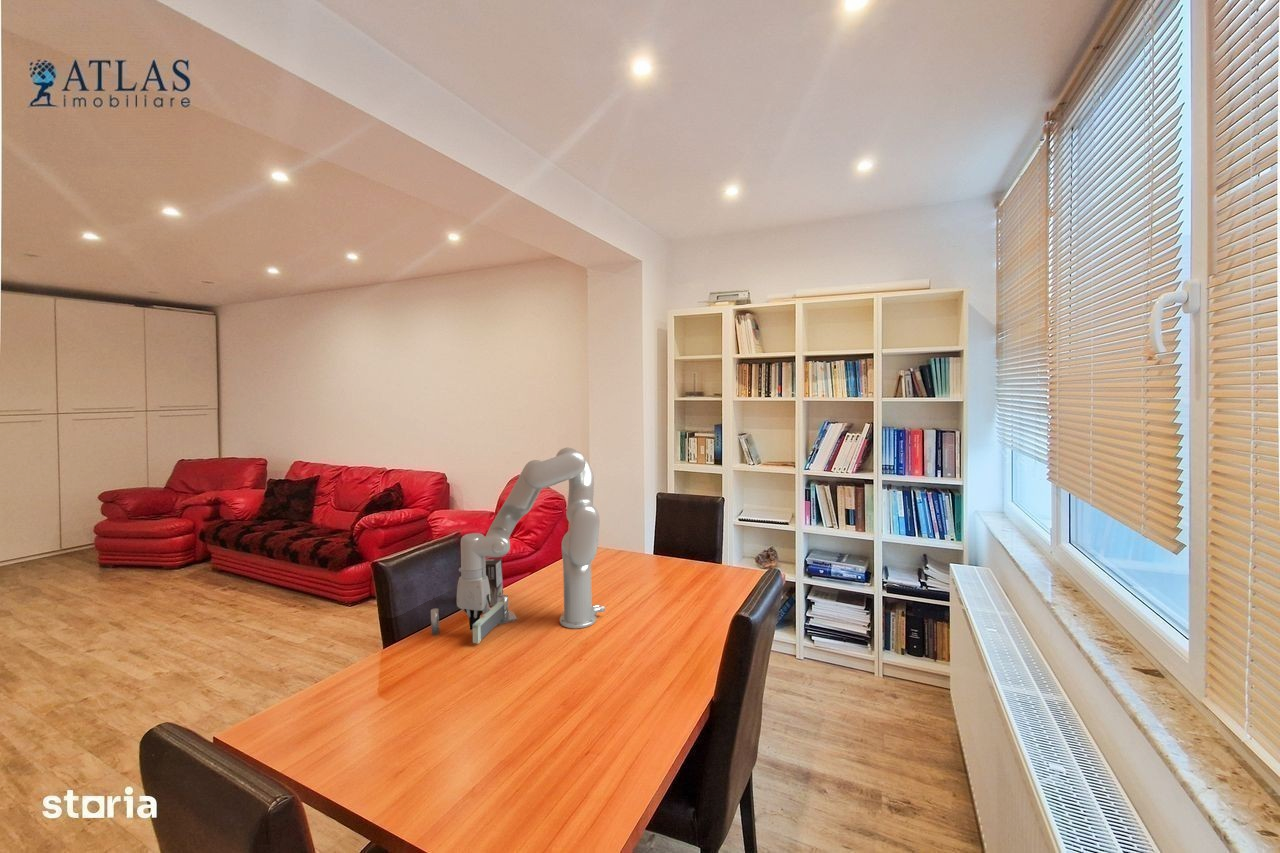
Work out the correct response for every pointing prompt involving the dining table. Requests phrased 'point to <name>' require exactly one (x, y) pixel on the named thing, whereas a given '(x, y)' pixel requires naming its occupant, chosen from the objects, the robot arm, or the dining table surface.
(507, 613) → the grey post with base
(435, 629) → the post
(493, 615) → the gate
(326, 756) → the dining table surface
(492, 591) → the coffee box
